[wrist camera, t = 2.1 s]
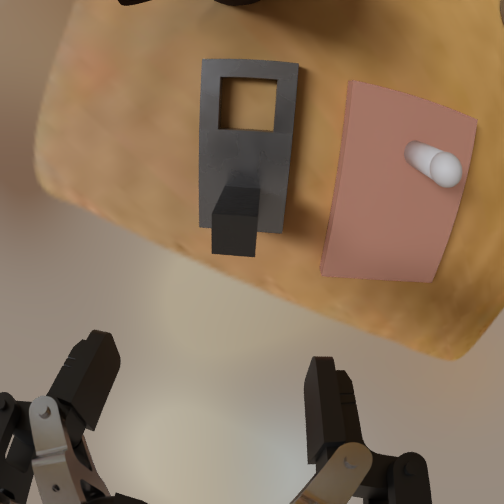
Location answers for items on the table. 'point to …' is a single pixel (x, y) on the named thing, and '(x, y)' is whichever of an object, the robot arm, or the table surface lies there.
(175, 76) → the table surface
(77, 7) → the table surface
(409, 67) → the table surface
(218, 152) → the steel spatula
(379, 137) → the pink board with peg
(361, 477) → the robot arm
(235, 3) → the coffee mug
